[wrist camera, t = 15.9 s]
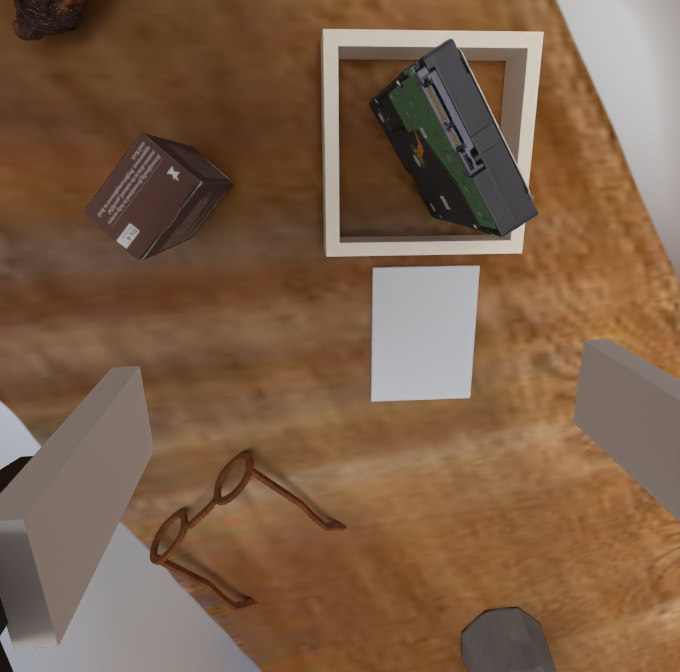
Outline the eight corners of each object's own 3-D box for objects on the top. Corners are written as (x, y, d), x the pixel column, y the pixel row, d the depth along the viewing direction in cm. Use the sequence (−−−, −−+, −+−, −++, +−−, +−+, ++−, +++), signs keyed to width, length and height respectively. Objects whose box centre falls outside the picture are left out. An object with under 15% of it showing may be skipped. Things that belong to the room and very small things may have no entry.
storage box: (320, 44, 38) (323, 29, 34) (519, 46, 39) (543, 31, 35) (323, 249, 42) (326, 256, 38) (502, 246, 43) (522, 253, 39)
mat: (372, 266, 43) (373, 267, 42) (477, 264, 43) (479, 265, 43) (370, 399, 46) (371, 401, 46) (468, 395, 47) (470, 397, 46)
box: (188, 142, 39) (141, 127, 28) (235, 183, 40) (209, 185, 29) (141, 204, 40) (77, 214, 29) (188, 242, 41) (145, 267, 30)
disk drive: (463, 200, 42) (546, 212, 28) (433, 220, 42) (501, 241, 28) (398, 82, 39) (454, 27, 25) (367, 103, 39) (405, 61, 25)
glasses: (249, 441, 47) (244, 471, 42) (346, 523, 51) (351, 559, 46) (154, 529, 49) (138, 567, 44) (253, 603, 53) (249, 645, 48)
